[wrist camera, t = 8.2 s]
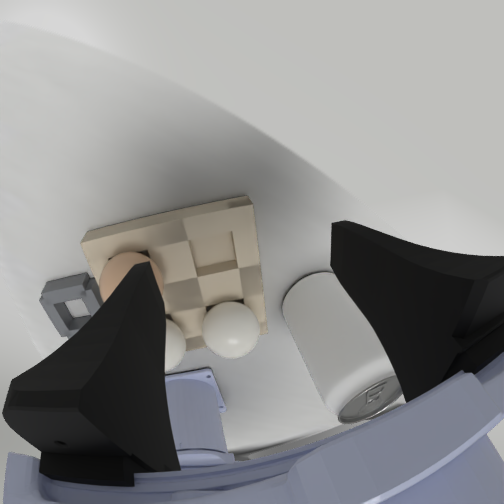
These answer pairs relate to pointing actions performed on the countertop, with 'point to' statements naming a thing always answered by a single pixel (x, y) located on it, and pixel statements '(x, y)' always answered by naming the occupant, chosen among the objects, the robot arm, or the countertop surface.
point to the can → (340, 349)
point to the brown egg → (124, 272)
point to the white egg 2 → (230, 330)
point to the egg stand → (67, 291)
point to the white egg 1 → (174, 345)
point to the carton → (192, 259)
